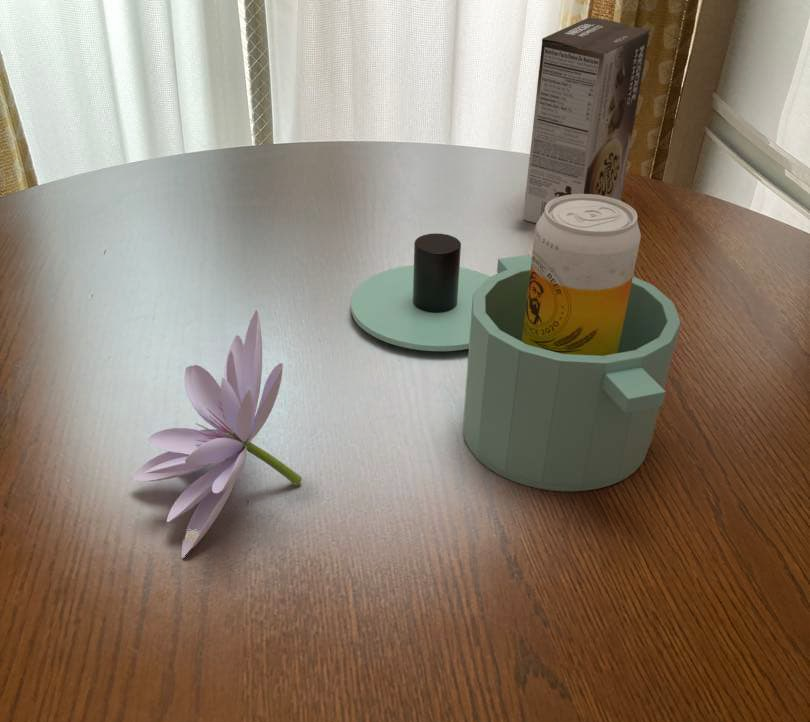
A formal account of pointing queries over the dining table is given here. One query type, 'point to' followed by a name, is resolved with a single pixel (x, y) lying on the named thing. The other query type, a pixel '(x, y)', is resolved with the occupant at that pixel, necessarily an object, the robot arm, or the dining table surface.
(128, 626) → the dining table surface
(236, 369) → the water lily
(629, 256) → the beer can
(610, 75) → the coffee box
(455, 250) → the lid
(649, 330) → the pot
